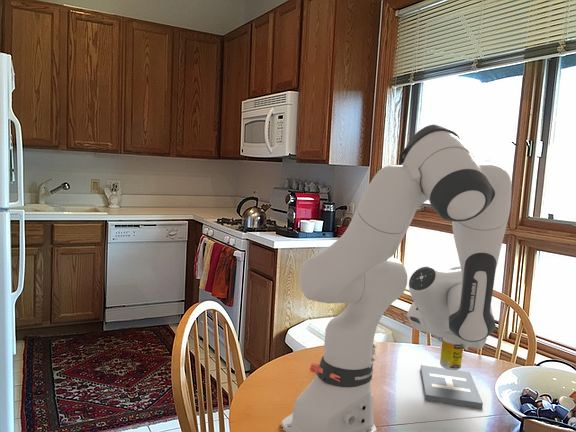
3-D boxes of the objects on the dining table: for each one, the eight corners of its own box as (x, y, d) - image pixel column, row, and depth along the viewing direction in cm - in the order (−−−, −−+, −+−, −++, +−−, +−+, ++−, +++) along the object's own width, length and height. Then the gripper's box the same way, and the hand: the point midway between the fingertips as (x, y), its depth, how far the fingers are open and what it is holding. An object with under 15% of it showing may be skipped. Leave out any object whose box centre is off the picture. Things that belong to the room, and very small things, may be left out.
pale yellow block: (358, 365, 146) (360, 347, 146) (342, 354, 154) (343, 337, 154) (385, 361, 151) (386, 344, 150) (367, 350, 159) (369, 334, 158)
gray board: (482, 409, 123) (482, 403, 123) (425, 400, 126) (425, 394, 126) (469, 376, 142) (469, 371, 142) (420, 370, 145) (420, 364, 145)
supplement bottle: (452, 372, 130) (455, 335, 130) (435, 365, 135) (439, 329, 134) (465, 369, 134) (468, 333, 133) (448, 361, 138) (452, 326, 137)
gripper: (483, 315, 120) (495, 345, 128) (411, 296, 135) (425, 324, 143) (473, 336, 118) (486, 365, 125) (401, 314, 132) (416, 342, 140)
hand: (453, 343), depth 134 cm, fingers closed on supplement bottle, 6 cm apart
